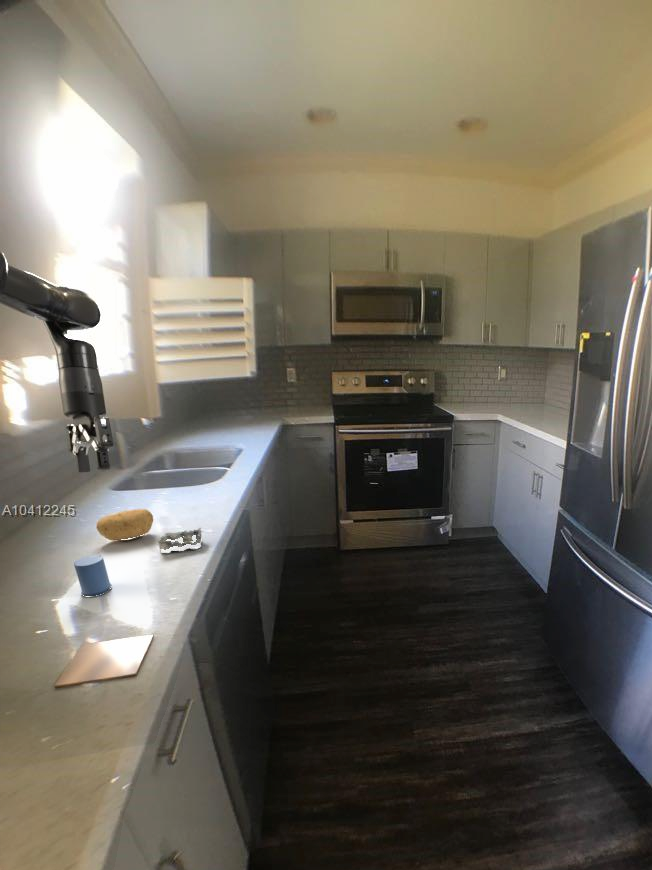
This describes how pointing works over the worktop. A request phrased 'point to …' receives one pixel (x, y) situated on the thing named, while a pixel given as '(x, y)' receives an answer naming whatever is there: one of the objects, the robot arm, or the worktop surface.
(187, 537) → the egg carton
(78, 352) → the robot arm
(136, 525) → the potato
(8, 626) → the worktop surface
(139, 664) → the mat
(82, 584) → the cap
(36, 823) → the worktop surface
